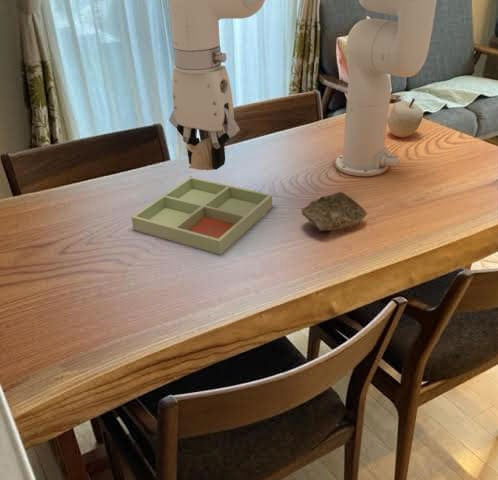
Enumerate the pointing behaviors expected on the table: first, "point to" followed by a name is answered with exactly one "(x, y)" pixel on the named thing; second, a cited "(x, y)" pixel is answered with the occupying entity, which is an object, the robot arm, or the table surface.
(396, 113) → the decorative object
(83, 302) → the table surface
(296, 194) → the table surface
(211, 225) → the grid
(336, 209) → the stone
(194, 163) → the decorative ornament
